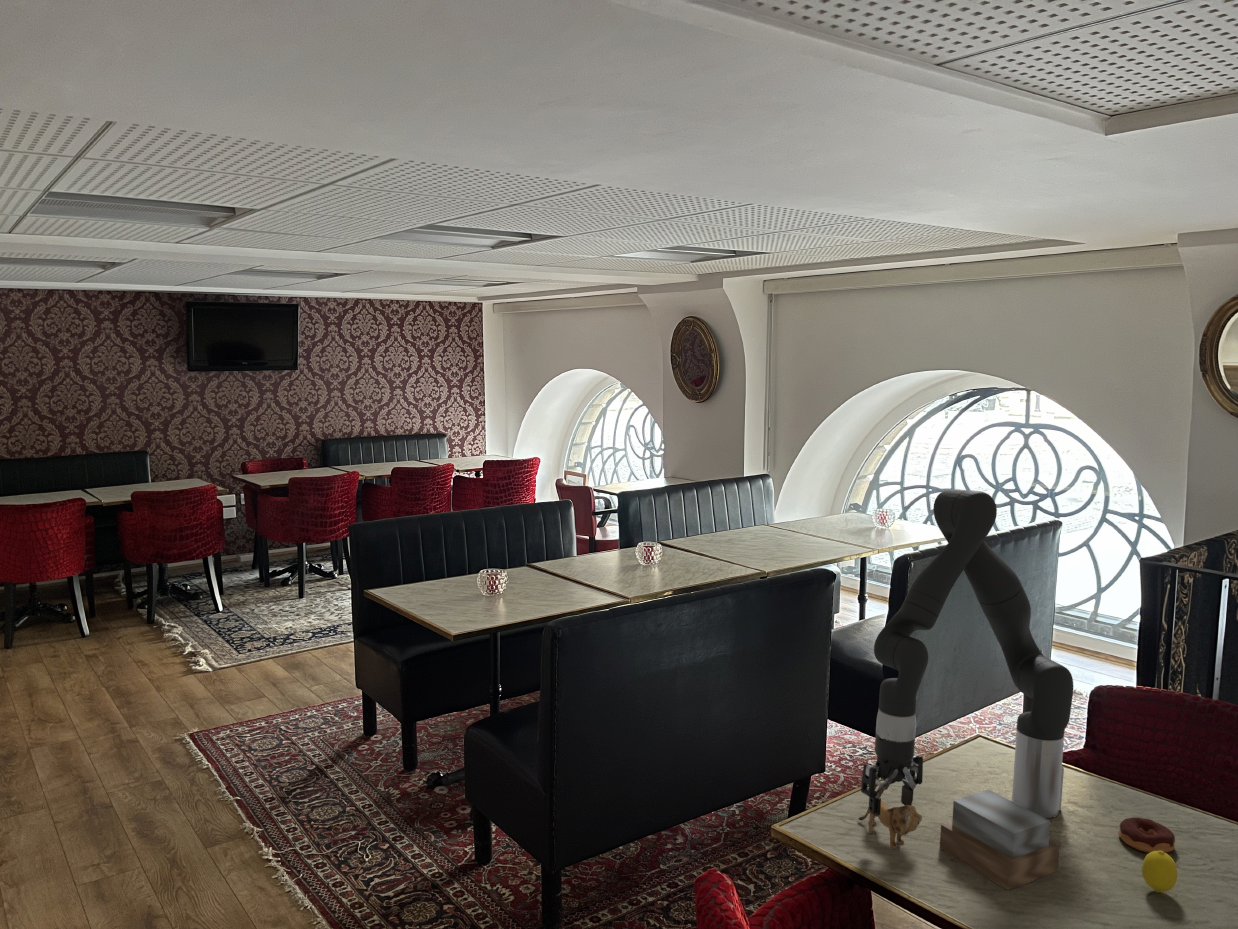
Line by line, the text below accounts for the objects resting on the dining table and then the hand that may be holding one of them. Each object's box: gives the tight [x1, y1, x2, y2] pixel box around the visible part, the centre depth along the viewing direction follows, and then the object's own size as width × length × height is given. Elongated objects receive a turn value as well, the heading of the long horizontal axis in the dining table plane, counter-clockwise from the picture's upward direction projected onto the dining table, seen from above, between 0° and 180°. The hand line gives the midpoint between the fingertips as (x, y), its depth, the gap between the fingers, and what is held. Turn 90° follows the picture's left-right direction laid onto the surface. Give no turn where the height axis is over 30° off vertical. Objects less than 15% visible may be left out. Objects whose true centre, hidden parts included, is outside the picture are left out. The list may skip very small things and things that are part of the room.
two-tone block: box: [939, 789, 1061, 891], centre depth 175 cm, size 14×16×10 cm
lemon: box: [1141, 850, 1178, 894], centre depth 165 cm, size 6×6×8 cm
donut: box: [1117, 817, 1176, 854], centre depth 182 cm, size 10×10×4 cm
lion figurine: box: [857, 799, 923, 850], centre depth 183 cm, size 15×5×9 cm, turn 34°
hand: (890, 809), depth 182 cm, fingers open, 8 cm apart
